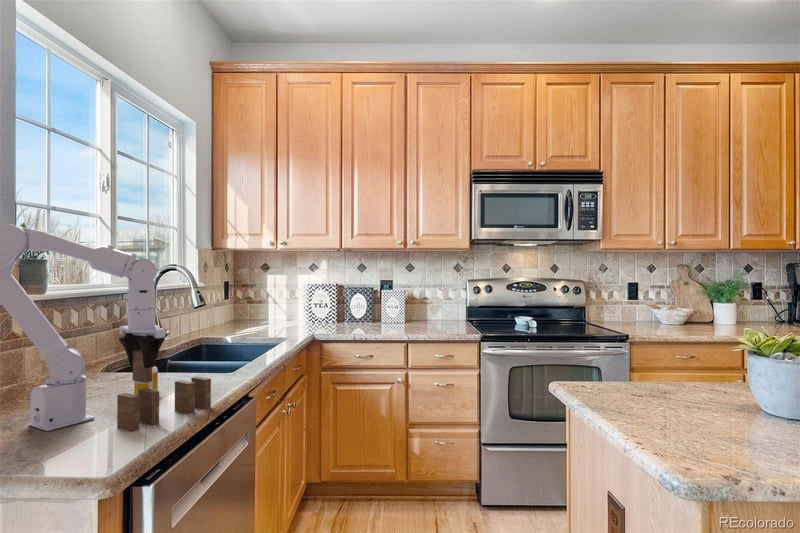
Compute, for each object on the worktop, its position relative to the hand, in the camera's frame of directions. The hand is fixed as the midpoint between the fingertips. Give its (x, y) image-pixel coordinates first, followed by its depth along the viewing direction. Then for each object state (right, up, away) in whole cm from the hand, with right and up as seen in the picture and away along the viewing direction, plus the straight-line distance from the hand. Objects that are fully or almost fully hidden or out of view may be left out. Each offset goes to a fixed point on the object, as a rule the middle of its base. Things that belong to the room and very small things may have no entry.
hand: (142, 366), depth 113 cm
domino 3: (+6, -10, -9) cm, 15 cm away
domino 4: (+11, -10, -1) cm, 15 cm away
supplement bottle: (-5, -11, +12) cm, 17 cm away
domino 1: (+4, -10, -13) cm, 17 cm away
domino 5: (+13, -10, +3) cm, 17 cm away
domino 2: (0, -3, 0) cm, 3 cm away
